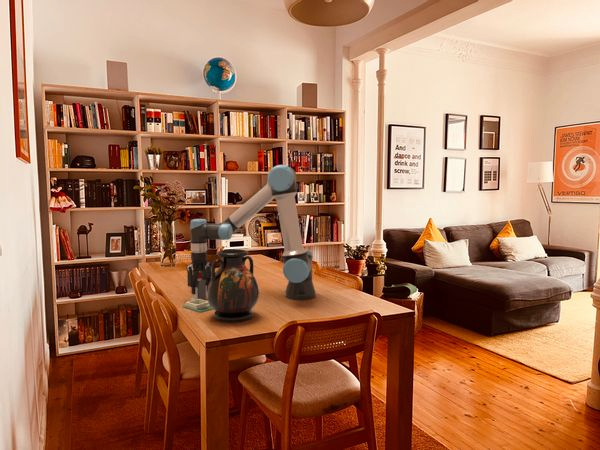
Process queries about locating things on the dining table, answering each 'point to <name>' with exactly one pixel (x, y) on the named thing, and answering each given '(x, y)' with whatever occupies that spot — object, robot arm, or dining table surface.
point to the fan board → (198, 305)
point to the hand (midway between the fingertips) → (200, 299)
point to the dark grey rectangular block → (201, 288)
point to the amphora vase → (232, 287)
